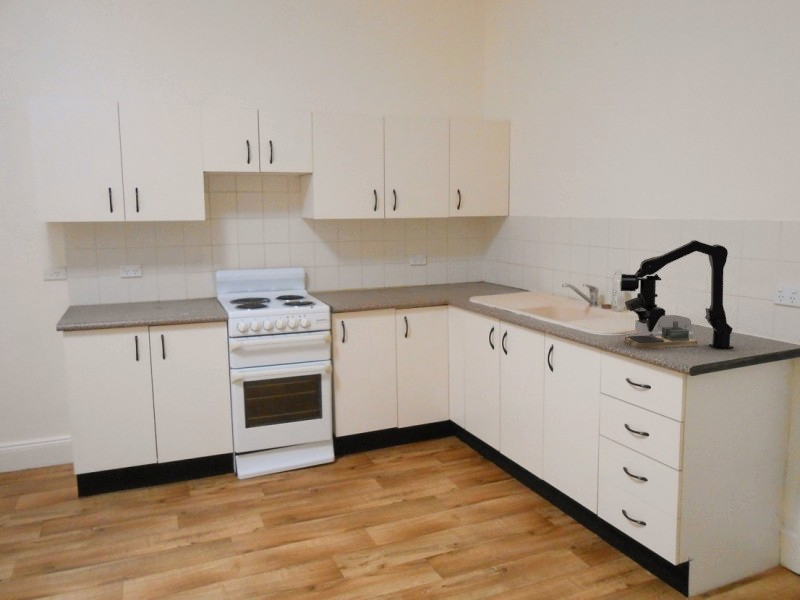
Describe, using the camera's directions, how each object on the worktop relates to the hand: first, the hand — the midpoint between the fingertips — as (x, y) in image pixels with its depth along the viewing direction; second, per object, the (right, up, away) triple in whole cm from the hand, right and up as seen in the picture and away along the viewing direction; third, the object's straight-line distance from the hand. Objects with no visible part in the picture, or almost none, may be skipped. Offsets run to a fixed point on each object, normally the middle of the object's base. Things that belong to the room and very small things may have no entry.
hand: (646, 329), depth 255 cm
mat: (0, -4, +1) cm, 4 cm away
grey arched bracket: (+16, -4, +15) cm, 23 cm away
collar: (0, -1, 0) cm, 1 cm away
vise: (+6, -6, +1) cm, 8 cm away
